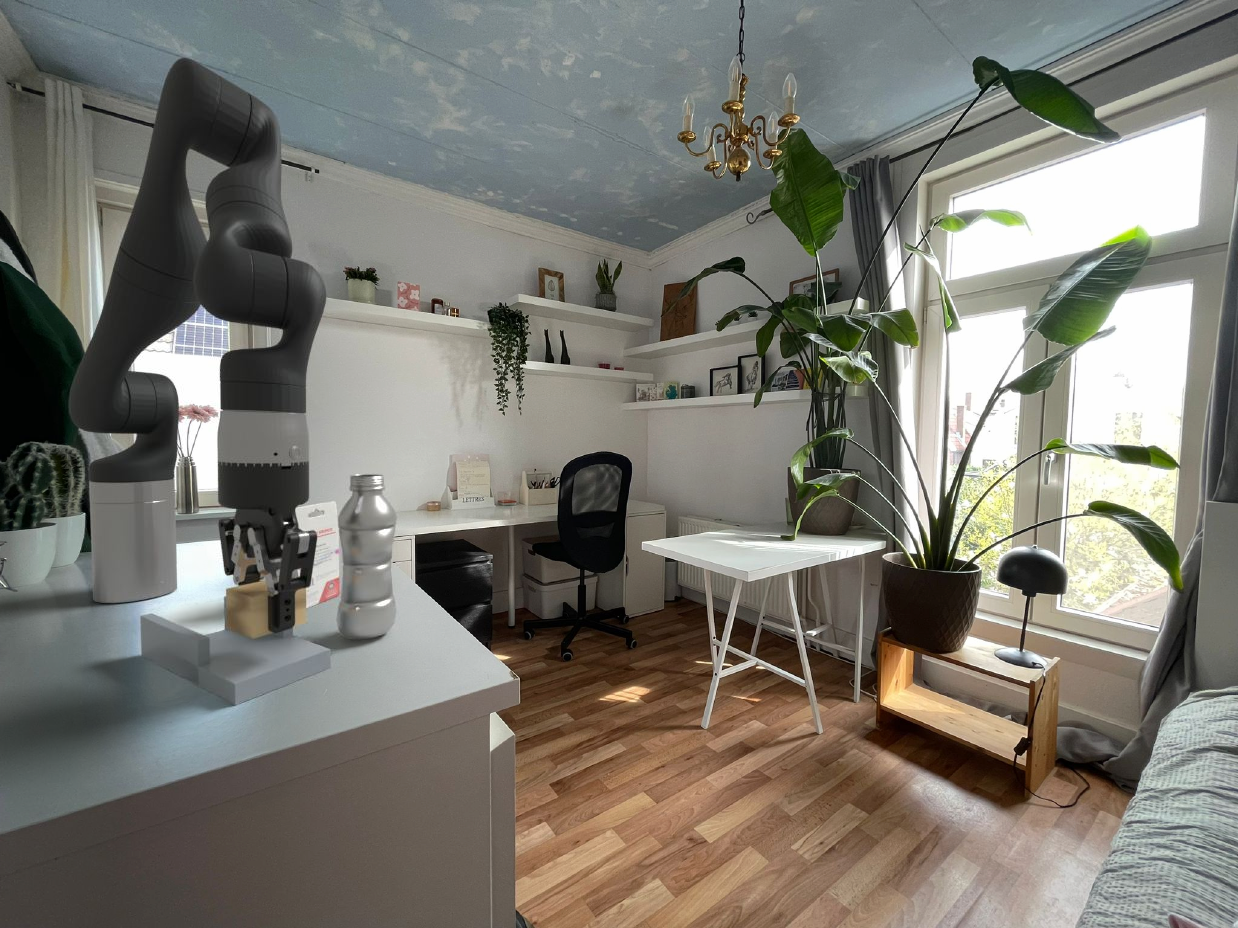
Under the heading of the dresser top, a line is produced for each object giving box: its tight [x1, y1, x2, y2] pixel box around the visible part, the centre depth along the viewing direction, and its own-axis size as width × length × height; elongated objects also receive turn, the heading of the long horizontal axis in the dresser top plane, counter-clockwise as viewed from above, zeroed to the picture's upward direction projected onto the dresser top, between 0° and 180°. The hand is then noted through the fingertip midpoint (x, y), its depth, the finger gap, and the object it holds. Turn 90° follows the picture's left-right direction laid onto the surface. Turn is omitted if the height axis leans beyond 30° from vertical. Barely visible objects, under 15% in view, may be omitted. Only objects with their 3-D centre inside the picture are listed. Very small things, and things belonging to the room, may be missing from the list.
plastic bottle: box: [336, 473, 398, 640], centre depth 63 cm, size 6×7×20 cm
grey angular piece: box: [139, 595, 331, 706], centre depth 56 cm, size 20×9×4 cm, turn 61°
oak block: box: [225, 578, 307, 639], centre depth 52 cm, size 5×5×4 cm
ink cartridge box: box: [270, 500, 341, 610], centre depth 75 cm, size 9×5×15 cm, turn 168°
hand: (266, 623), depth 52 cm, fingers closed on oak block, 5 cm apart
